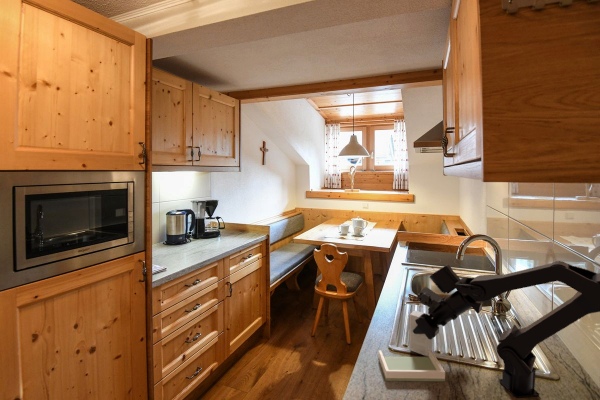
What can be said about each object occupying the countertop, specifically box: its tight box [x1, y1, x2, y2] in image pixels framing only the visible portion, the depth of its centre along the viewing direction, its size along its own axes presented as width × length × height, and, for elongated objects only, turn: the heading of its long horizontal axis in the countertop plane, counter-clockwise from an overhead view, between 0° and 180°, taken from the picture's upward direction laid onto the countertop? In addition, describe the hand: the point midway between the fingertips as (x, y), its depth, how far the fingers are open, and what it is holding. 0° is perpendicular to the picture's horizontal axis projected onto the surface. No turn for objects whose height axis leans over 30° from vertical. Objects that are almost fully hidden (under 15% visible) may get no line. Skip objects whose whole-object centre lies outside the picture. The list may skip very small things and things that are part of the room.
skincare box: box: [408, 310, 434, 357], centre depth 100 cm, size 6×4×12 cm
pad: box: [378, 350, 446, 382], centre depth 92 cm, size 16×10×3 cm, turn 88°
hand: (416, 329), depth 101 cm, fingers closed on skincare box, 4 cm apart
